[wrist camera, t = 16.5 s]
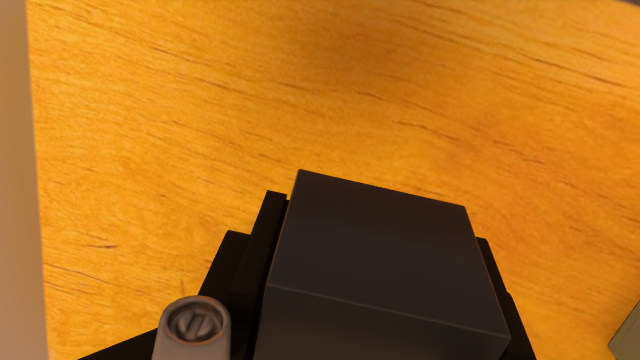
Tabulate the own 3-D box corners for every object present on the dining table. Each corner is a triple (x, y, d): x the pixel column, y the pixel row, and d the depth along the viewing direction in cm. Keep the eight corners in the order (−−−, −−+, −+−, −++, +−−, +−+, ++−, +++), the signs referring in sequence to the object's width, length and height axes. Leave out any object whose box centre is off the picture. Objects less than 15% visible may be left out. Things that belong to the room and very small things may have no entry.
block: (298, 167, 12) (265, 284, 8) (465, 205, 12) (513, 338, 8) (272, 293, 14) (236, 433, 10) (413, 324, 14) (431, 474, 10)
